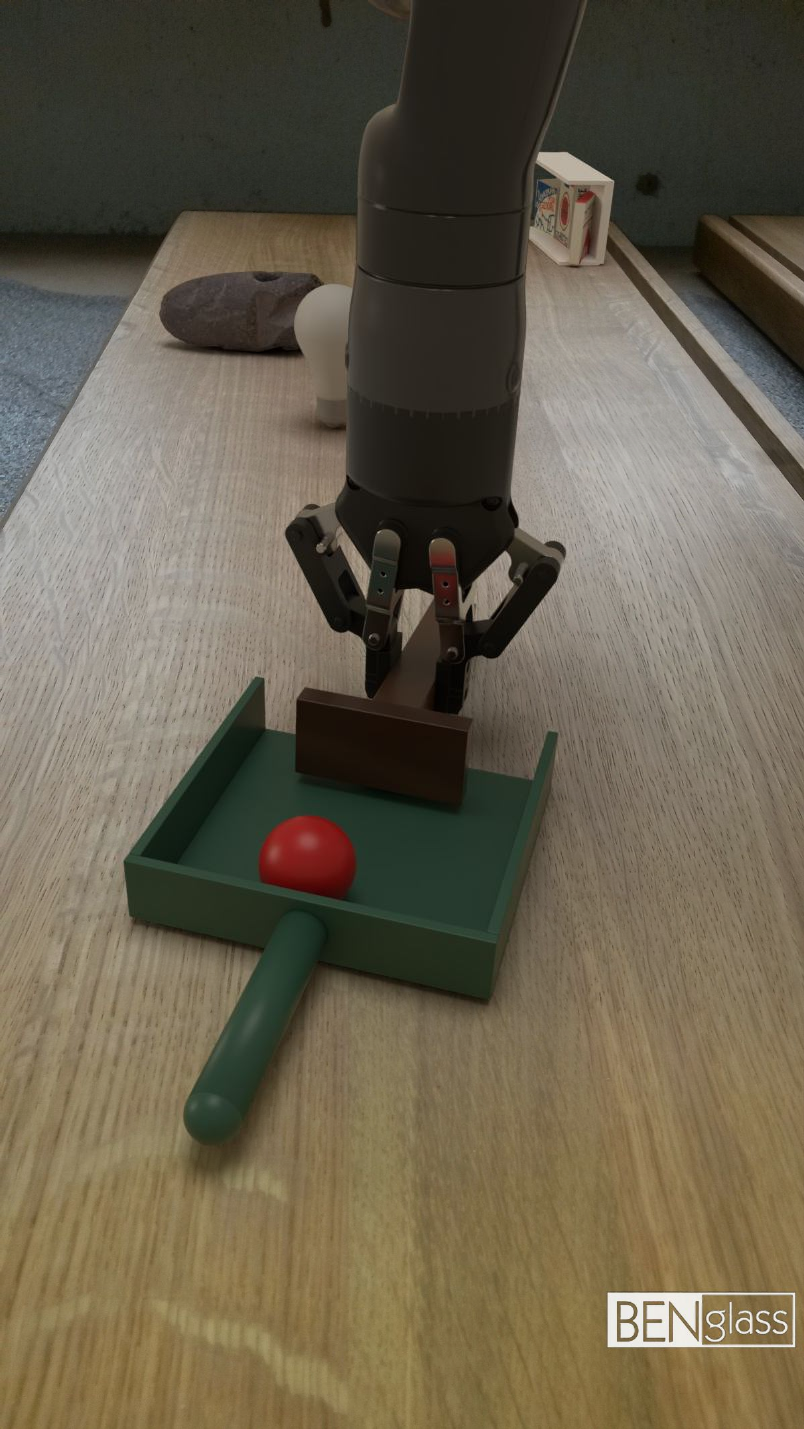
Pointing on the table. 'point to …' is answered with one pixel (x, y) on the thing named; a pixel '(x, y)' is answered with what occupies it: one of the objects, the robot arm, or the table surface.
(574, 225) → the cigarette display
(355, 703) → the wooden t-shaped pusher
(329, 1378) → the table surface
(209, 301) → the perforated stone tool
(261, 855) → the red billiard ball
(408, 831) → the dustpan
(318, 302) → the lightbulb
